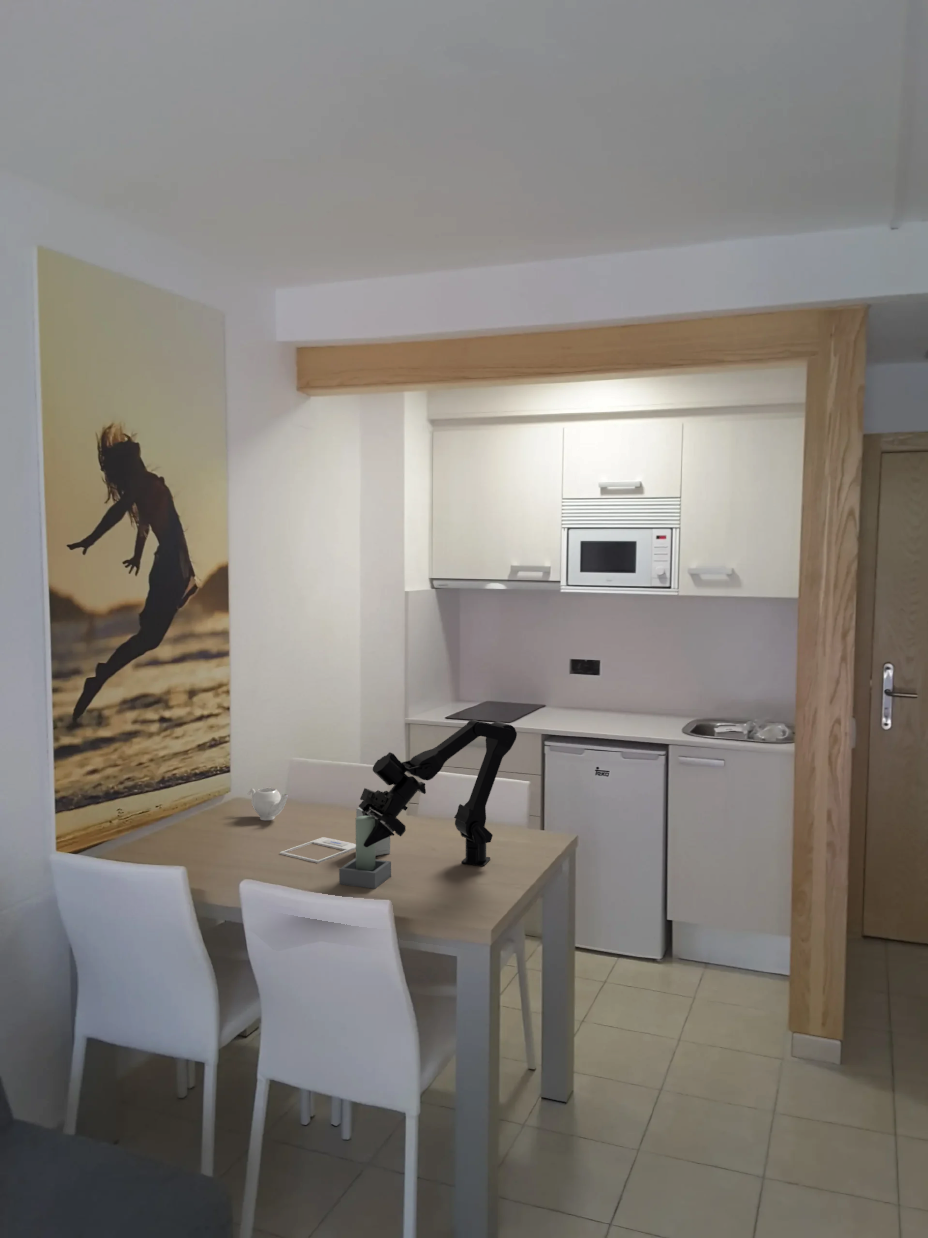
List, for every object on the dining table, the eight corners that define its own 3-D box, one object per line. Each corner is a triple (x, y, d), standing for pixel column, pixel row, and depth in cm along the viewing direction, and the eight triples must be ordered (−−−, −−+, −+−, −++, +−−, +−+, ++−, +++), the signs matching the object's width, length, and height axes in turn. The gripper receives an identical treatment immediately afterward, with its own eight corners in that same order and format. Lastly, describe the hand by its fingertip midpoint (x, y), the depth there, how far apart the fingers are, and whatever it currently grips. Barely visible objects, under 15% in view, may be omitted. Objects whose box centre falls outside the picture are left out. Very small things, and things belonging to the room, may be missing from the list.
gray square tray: (356, 872, 257) (356, 857, 257) (391, 876, 254) (391, 861, 253) (339, 884, 247) (339, 868, 247) (375, 888, 244) (374, 873, 244)
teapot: (260, 810, 319) (259, 782, 319) (298, 821, 306) (298, 792, 306) (235, 816, 312) (235, 787, 312) (274, 827, 299) (274, 798, 299)
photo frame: (360, 844, 279) (318, 860, 264) (360, 848, 279) (318, 864, 264) (323, 836, 287) (279, 851, 273) (323, 840, 288) (279, 855, 273)
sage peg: (368, 863, 254) (368, 814, 253) (379, 868, 250) (378, 818, 249) (352, 867, 251) (351, 818, 250) (362, 872, 247) (362, 822, 246)
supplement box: (367, 858, 269) (367, 813, 268) (355, 851, 275) (355, 807, 274) (391, 854, 273) (391, 809, 272) (378, 847, 279) (378, 804, 278)
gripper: (365, 770, 259) (326, 816, 254) (394, 784, 242) (353, 834, 238) (392, 795, 263) (355, 841, 259) (422, 811, 247) (383, 860, 242)
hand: (360, 843), depth 249 cm, fingers closed on sage peg, 5 cm apart
